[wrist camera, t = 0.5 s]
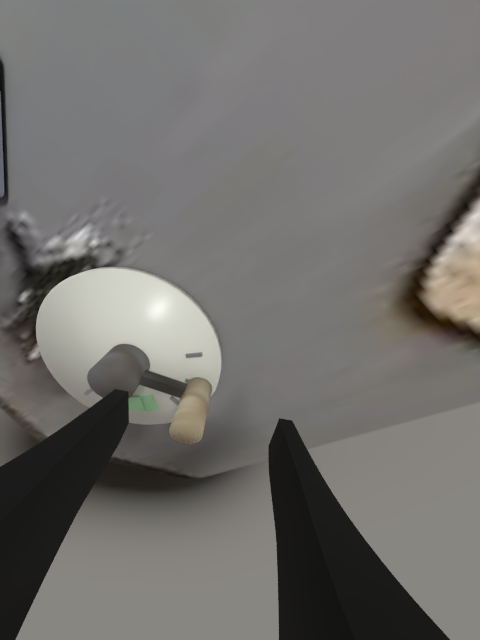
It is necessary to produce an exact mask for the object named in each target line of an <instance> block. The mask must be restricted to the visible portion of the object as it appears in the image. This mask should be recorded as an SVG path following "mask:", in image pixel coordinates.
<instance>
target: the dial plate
mask: <svg viewBox="0 0 480 640" xmlns="http://www.w3.org/2000/svg"><path fill="white" fill-rule="evenodd" d="M36 337H37V342H38V347H39V350H40V353H41V356H42V358H43V360H44V362H45V364H46V366H47V368H48V369H49V371H50V372H51V374H52V375H53V377H54V378H55V379H56V380H57V382H58V383H59V384H60V385H61V386H62V387H63V388H64V389H65V390H66V391H67V392H68V393H69V394H70V395H72V396H73V397H74V398H75V399H77V400H78V401H79V402H81V403H82V404H84V405H85V406H87V407H89V408H90V407H92V406H93V405H94V404H96V403H97V402H98V401H100V400H101V399H102V398H103V397H101V396H99V395H98V394H96V393H95V392H94V391H93V390H92V389H91V387H90V386H89V384H88V380H87V375H88V372H89V370H90V369H91V368H92V367H93V366H94V365H95V364H96V363H97V362H98V361H99V360H100V359H101V358H102V357H103V356H105V355H106V354H107V353H108V352H109V351H110V350H111V349H112V348H113V347H114V346H116V345H119V344H130V345H134V346H136V347H138V348H139V349H141V350H142V351H143V352H144V353H145V354H146V355H147V357H148V359H149V362H150V368H149V371H151V372H154V373H157V374H160V375H163V376H166V377H169V378H172V379H175V380H178V381H181V382H184V383H187V382H188V381H189V380H190V379H192V378H196V377H200V378H204V379H206V380H207V381H209V382H210V384H211V385H212V394H211V396H212V395H213V393H214V391H215V390H216V387H217V384H218V382H219V377H220V372H221V367H222V350H221V344H220V340H219V337H218V334H217V332H216V329H215V327H214V325H213V323H212V322H211V320H210V318H209V317H208V315H207V314H206V312H205V311H204V310H203V309H202V307H201V306H200V305H199V304H198V303H197V302H196V301H195V300H194V299H193V298H192V297H191V296H190V295H189V294H187V293H186V292H185V291H184V290H182V289H181V288H180V287H178V286H176V285H175V284H173V283H172V282H170V281H168V280H166V279H164V278H162V277H160V276H158V275H155V274H152V273H149V272H146V271H143V270H139V269H134V268H129V267H117V266H113V267H101V268H96V269H91V270H88V271H85V272H82V273H79V274H76V275H74V276H71V277H69V278H67V279H65V280H64V281H62V282H60V283H59V284H58V285H57V286H55V287H54V288H53V289H52V290H51V291H50V292H49V294H48V295H47V296H46V297H45V299H44V301H43V303H42V305H41V306H40V309H39V312H38V316H37V322H36ZM180 399H181V398H178V397H175V396H172V395H169V394H166V393H163V392H160V391H157V390H154V389H151V388H148V387H145V386H142V385H139V386H138V388H137V389H136V391H135V392H134V394H133V395H132V396H131V397H130V398H129V423H134V424H143V425H157V424H166V423H170V422H172V420H173V418H174V415H175V412H176V410H177V407H178V404H179V402H180Z"/></svg>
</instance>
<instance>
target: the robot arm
mask: <svg viewBox="0 0 480 640" xmlns="http://www.w3.org/2000/svg"><path fill="white" fill-rule="evenodd" d="M3 196H4V169H3V143H2V118H1V93H0V197H3ZM128 423H129V394H128V391H123V390H118V389H115V390H113V391H112V392H110V393H109V394H108V395H106V396H105V397H104V398H102V399H101V400H100V401H98V402H97V403H96V404H94V405H93V406H92V407H90V408H89V409H88V410H86V411H85V412H84V413H82V414H81V415H79V416H78V417H77V418H75V419H74V420H72V421H71V422H70V423H68V424H67V425H65V426H64V427H63V428H61V429H60V430H58V431H57V432H55V433H54V434H52V435H51V436H49V437H48V438H46V439H45V440H43V441H42V442H40V443H39V444H37V445H36V446H34V447H32V448H31V449H29V450H28V451H26V452H25V453H23V454H21V455H19V456H18V457H16V458H15V459H13V460H11V461H9V462H8V463H6V464H4V465H3V466H1V467H0V640H15V639H16V637H17V635H18V633H19V630H20V628H21V626H22V624H23V622H24V620H25V618H26V615H27V613H28V611H29V609H30V607H31V605H32V603H33V600H34V599H35V597H36V594H37V592H38V590H39V588H40V586H41V584H42V582H43V580H44V577H45V576H46V574H47V572H48V570H49V568H50V565H51V563H52V562H53V560H54V557H55V555H56V553H57V551H58V549H59V547H60V545H61V543H62V542H63V540H64V538H65V536H66V534H67V532H68V530H69V528H70V526H71V524H72V522H73V520H74V518H75V516H76V514H77V512H78V511H79V509H80V507H81V505H82V504H83V502H84V500H85V498H86V497H87V495H88V494H89V492H90V490H91V489H92V487H93V485H94V484H95V482H96V481H97V479H98V477H99V476H100V474H101V472H102V471H103V469H104V467H105V466H106V464H107V463H108V461H109V459H110V458H111V456H112V454H113V453H114V451H115V449H116V448H117V446H118V444H119V442H120V440H121V438H122V436H123V434H124V432H125V430H126V428H127V425H128ZM269 475H270V485H271V494H272V502H273V512H274V520H275V529H276V541H277V565H278V600H279V640H450V639H449V638H448V637H447V636H446V635H445V634H444V633H443V631H442V630H441V629H440V628H439V627H438V626H437V625H436V624H435V623H434V622H433V621H432V619H431V618H430V617H429V616H428V615H427V614H426V613H425V612H424V611H423V610H422V608H420V606H419V605H418V604H417V603H416V602H415V601H414V600H413V598H412V597H411V596H410V595H409V594H408V592H407V591H406V590H405V589H404V588H403V587H402V585H401V584H400V583H399V582H398V581H397V579H396V578H395V577H394V576H393V575H392V573H391V572H390V571H389V570H388V568H387V567H386V566H385V565H384V563H383V562H382V561H381V560H380V558H379V557H378V556H377V554H376V553H375V552H374V551H373V550H372V548H371V547H370V546H369V544H368V543H367V542H366V541H365V539H364V538H363V536H362V535H361V534H360V532H359V531H358V530H357V528H356V527H355V526H354V524H353V523H352V521H351V520H350V519H349V517H348V516H347V514H346V513H345V511H344V510H343V508H342V507H341V505H340V504H339V502H338V501H337V499H336V498H335V496H334V495H333V493H332V492H331V490H330V488H329V487H328V485H327V484H326V482H325V480H324V479H323V477H322V475H321V474H320V472H319V470H318V468H317V467H316V465H315V463H314V461H313V459H312V458H311V456H310V454H309V452H308V450H307V448H306V447H305V445H304V443H303V441H302V439H301V437H300V435H299V433H298V431H297V429H296V427H295V425H294V423H293V422H292V421H291V420H286V419H280V418H279V421H278V424H277V426H276V429H275V431H274V434H273V436H272V439H271V442H270V444H269Z"/></svg>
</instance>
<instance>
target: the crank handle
mask: <svg viewBox="0 0 480 640" xmlns="http://www.w3.org/2000/svg"><path fill="white" fill-rule="evenodd" d="M149 368H150V362H149V359H148V357H147V355H146V354H145V353H144V352H143V351H142V350H141V349H139V348H138V347H136V346H134V345H130V344H119V345H116V346H114V347H113V348H112V349H111V350H110V351H109V352H108V353H107V354H106V355H105V356H103V357H102V358H101V359H100V360H99V361H98V362H97V363H96V364H95V365H94V366H93V367H92V368H91V369H90V370H89V372H88V375H87V380H88V384H89V386H90V387H91V389H92V390H93V391H94V392H95V393H96V394H98V395H99V396H101V397H103V398H104V397H105V396H106V395H108V394H109V393H110V392H112V391H113V390H115V389H118V390H123V391H128V394H129V398H130V397H131V396H132V395H133V394H134V392H135V391H136V389H137V388H138V386H139V385H142V386H145V387H148V388H151V389H154V390H157V391H160V392H163V393H166V394H169V395H172V396H175V397H178V398H181V399H180V402H179V404H178V407H177V410H176V412H175V415H174V418H173V420H172V423H171V426H170V428H169V434H170V436H171V437H172V438H173V439H174V440H175V441H177V442H179V443H182V444H195V443H197V442H199V441H200V440H201V438H202V436H203V431H204V426H205V422H206V417H207V413H208V408H209V403H210V399H211V394H212V385H211V384H210V382H209V381H207V380H206V379H204V378H200V377H196V378H192V379H190V380H189V381H188V382H187V383H184V382H181V381H178V380H175V379H172V378H169V377H166V376H163V375H160V374H157V373H154V372H151V371H149Z"/></svg>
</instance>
